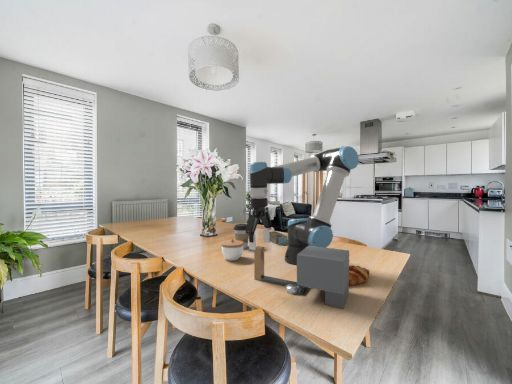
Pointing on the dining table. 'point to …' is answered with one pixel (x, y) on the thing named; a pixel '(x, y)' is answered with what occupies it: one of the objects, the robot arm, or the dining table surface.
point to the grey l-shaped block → (325, 273)
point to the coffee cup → (241, 234)
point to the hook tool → (260, 276)
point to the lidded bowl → (232, 249)
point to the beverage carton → (278, 238)
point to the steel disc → (292, 288)
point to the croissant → (357, 275)
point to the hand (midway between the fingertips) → (260, 245)
